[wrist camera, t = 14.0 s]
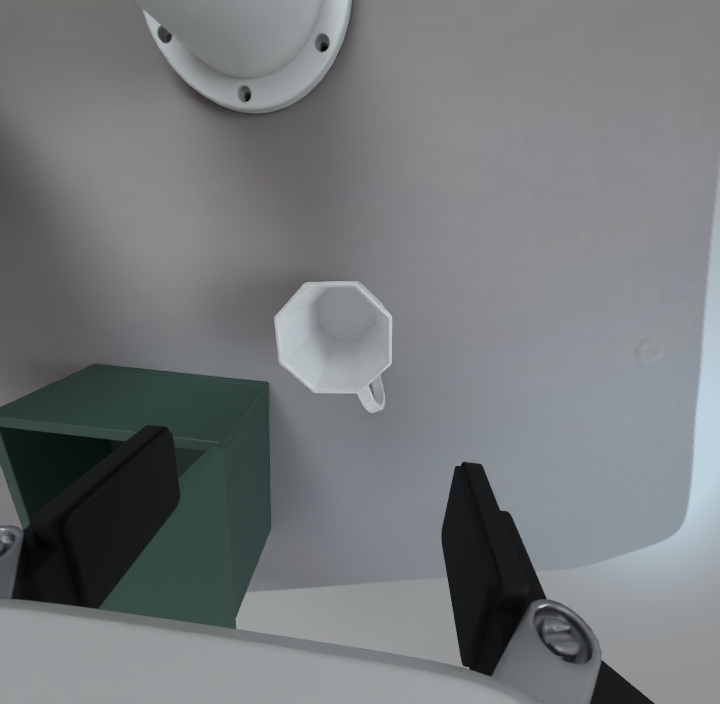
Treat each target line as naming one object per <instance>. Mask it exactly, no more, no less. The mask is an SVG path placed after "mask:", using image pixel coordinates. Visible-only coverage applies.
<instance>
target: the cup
mask: <svg viewBox="0 0 720 704" xmlns="http://www.w3.org/2000/svg"><path fill="white" fill-rule="evenodd" d="M274 324H275V333H276V342H277V350H278V359H279V364H281V365H282V366H283V367H284V368H285V369H286V370H288V371H289V372H290V373H291V374H292V375H293V376H295V377H296V378H297V379H298V380H299V381H300V382H301V383H303V384H304V385H305V386H306V387H307V388H308V389H310V390H311V391H312V392H313V393H342V394H357V395H358V397H359V399H360V401H361V403H362V405H363V406H364V408H365V409H366V410H367V411H368V412H370V413H374V412H377V411H380V410H383V408H384V406H385V393H384V388H383V384H382V380H381V376H380V374H381V373H382V372H383V371H384V370H386V369H387V368H388V367H389V366H390V365H391V364H392V316H391V315H390V313H389V312H388V311H387V310H386V309H385V307H384V306H383V304H382V303H381V302H380V301H379V300H378V299H377V298H376V297H375V296H374V295H373V294H372V293H371V292H370V291H369V290H368V289H366V288H365V287H364V286H363V285H362V284H361V283H360V282H359V281H324V282H305V283H304V284H303V285H302V286H301V287H300V289H299V290H298V291H297V292H296V293H295V294H294V295H293V296H292V298H291V299H290V300H289V301H288V302H287V303H286V304H285V306H284V307H283V308H282V309H281V310H280V311H279V312H278V313H277V315H276V316H275V317H274ZM370 383H372V387H373V392H374V398H373V395H372V393H371V390H370V388H369V386H368V385H369V384H370Z"/></svg>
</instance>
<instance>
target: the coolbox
mask: <svg viewBox="0 0 720 704" xmlns="http://www.w3.org/2000/svg"><path fill="white" fill-rule="evenodd" d="M146 425H157V426H165V427H167V428H168V429H169V432H172V434H173V439H174V447H175V455H176V463H177V472H178V478H179V477H180V476H181V475H182V474H183V473H184V472H186V471H187V470H188V469H189V468H190V467H191V466H192V465H193V464H194V463H195V462H196V461H197V460H198V459H199V458H200V457H201V456H202V455H203V454H204V453H205V452H206V451H207V450H208V449H209V448H210V447H212V446H213V447H218V448H222V449H223V455H224V468H225V482H226V496H227V509H228V523H229V537H230V550H231V564H232V578H233V591H234V605H235V618H236V616H237V613H238V611H239V608H240V606H241V603H242V601H243V598H244V596H245V593H246V591H247V588H248V586H249V583H250V580H251V578H252V575H253V573H254V570H255V568H256V565H257V563H258V560H259V558H260V555H261V553H262V550H263V548H264V545H265V543H266V540H267V537H268V535H269V533H270V530H271V510H270V453H269V395H268V382H260V381H251V380H241V379H232V378H222V377H213V376H204V375H194V374H185V373H175V372H166V371H157V370H147V369H138V368H128V367H119V366H109V365H100V364H93V365H91V366H89V367H87V368H85V369H82V370H80V371H78V372H76V373H74V374H71V375H69V376H67V377H65V378H63V379H61V380H58V381H56V382H54V383H52V384H50V385H48V386H45V387H43V388H41V389H39V390H37V391H35V392H32V393H30V394H28V395H26V396H24V397H21V398H19V399H17V400H15V401H13V402H11V403H8V404H6V405H4V406H2V407H0V465H1V467H2V470H3V473H4V476H5V479H6V482H7V485H8V488H9V491H10V493H11V496H12V499H13V502H14V505H15V508H16V511H17V514H18V516H19V519H20V522H21V525H22V528H23V530H24V529H25V528H26V527H28V526H29V525H30V523H29V520H28V519H29V518H30V517H31V516H33V515H34V514H35V513H36V512H38V511H39V510H40V509H41V508H43V507H44V506H45V505H46V504H48V503H49V502H50V501H51V500H53V499H54V498H55V497H56V496H58V495H59V494H60V493H62V492H63V491H64V490H65V489H67V488H68V487H69V486H70V485H72V484H73V483H74V482H75V481H77V480H78V479H79V478H80V477H82V476H83V475H84V474H85V473H87V472H88V471H89V470H90V469H92V468H93V467H94V466H95V465H97V464H98V463H99V462H100V461H102V460H103V459H104V458H106V457H107V456H108V455H109V454H111V453H112V452H113V451H114V450H116V449H117V448H118V447H119V446H121V445H122V444H123V443H124V442H126V441H127V440H128V439H129V438H131V437H132V436H133V435H134V434H136V433H137V432H138V431H139V430H141V429H142V428H143V427H145V426H146Z"/></svg>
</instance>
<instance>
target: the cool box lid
mask: <svg viewBox="0 0 720 704" xmlns="http://www.w3.org/2000/svg"><path fill="white" fill-rule="evenodd" d="M178 480H179V488H180V501H179V504H178V506H177V508H176V509H175V510H174V512H173V513H172V514H171V516H170V517H169V518H168V519H167V521H166V522H165V523H164V525H163V526H162V527H161V528H160V530H159V531H158V532H157V534H156V535H155V536H154V538H153V539H152V540H151V541H150V543H149V544H148V545H147V547H146V548H145V549H144V550H143V552H142V553H141V554H140V556H139V557H138V558H137V560H136V561H135V562H134V563H133V565H132V566H131V567H130V569H129V570H128V571H127V572H126V574H125V575H124V576H123V578H122V579H121V580H120V582H119V583H118V584H117V585H116V587H115V588H114V589H113V591H112V592H111V593H110V594H109V596H108V597H107V598H106V600H105V601H104V602H103V604H102V605H101V606H100V607H99V608H98V609H101V610H108V611H115V612H122V613H129V614H136V615H143V616H150V617H157V618H164V619H171V620H177V621H184V622H191V623H198V624H205V625H211V626H218V627H225V628H231V629H236V621H235V605H234V591H233V578H232V564H231V550H230V537H229V523H228V509H227V496H226V482H225V468H224V455H223V449H222V448H218V447H213V446H212V447H210V448H209V449H208V450H207V451H206V452H205V453H204V454H203V455H202V456H201V457H200V458H199V459H198V460H197V461H196V462H195V463H194V464H193V465H192V466H191V467H190V468H189V469H188V470H187V471H186V472H184V473H183V474H182V475H181V476H180V477H179V478H178Z"/></svg>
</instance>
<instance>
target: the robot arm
mask: <svg viewBox="0 0 720 704" xmlns="http://www.w3.org/2000/svg"><path fill="white" fill-rule="evenodd" d="M133 1H134V2H136V3H137V4H138V5H139V6H140V7H141V8H142V10H143V13H144V16H145V19H146V22H147V25H148V27H149V29H150V31H151V33H152V35H153V37H154V40H155V42H156V44H157V46H158V48H159V49H160V51H161V52H162V54H163V55H164V56H165V58H166V59H167V61H168V62H169V64H170V65H171V67H172V68H173V69H174V70H175V71H176V72H177V73H178V74H179V75H180V76H181V77H182V78H183V80H184V81H185V82H186V83H187V84H188V85H190V86H191V87H192V88H194V89H195V90H196V91H198V92H199V93H200V94H202V95H203V96H205V97H206V98H208V99H210V100H211V101H213V102H215V103H216V104H218V105H220V106H223V107H225V108H228V109H231V110H234V111H237V112H244V113H253V114H257V113H267V112H274V111H277V110H279V109H282V108H285V107H288V106H290V105H292V104H294V103H295V102H297V101H298V100H300V99H302V98H303V97H305V96H306V95H307V94H308V93H309V92H310V91H311V90H312V89H313V88H314V87H316V86H317V85H318V84H319V83H320V82H321V80H322V79H323V77H324V76H325V75H326V73H327V72H328V70H329V69H330V67H331V66H332V65H333V63H334V61H335V58H336V56H337V54H338V52H339V50H340V48H341V46H342V43H343V40H344V37H345V33H346V30H347V26H348V23H349V19H350V12H351V4H352V0H133ZM323 46H328V49H327V50H326V51H325V52H321V48H322V47H323ZM248 95H251V99H250V100H249V101H248V102H247V100H246V99H247V96H248ZM179 501H180V488H179V480H178V472H177V463H176V455H175V447H174V439H173V434H172V432H169V429H168V428H167V427H165V426H157V425H146V426H145V427H143V428H142V429H141V430H139V431H138V432H137V433H136V434H134V435H133V436H132V437H131V438H129V439H128V440H127V441H126V442H124V443H123V444H122V445H121V446H119V447H118V448H117V449H116V450H114V451H113V452H112V453H111V454H109V455H108V456H107V457H106V458H104V459H103V460H102V461H100V462H99V463H98V464H97V465H95V466H94V467H93V468H92V469H90V470H89V471H88V472H87V473H85V474H84V475H83V476H82V477H80V478H79V479H78V480H77V481H75V482H74V483H73V484H72V485H70V486H69V487H68V488H67V489H65V490H64V491H63V492H62V493H60V494H59V495H58V496H56V497H55V498H54V499H53V500H51V501H50V502H49V503H48V504H46V505H45V506H44V507H43V508H41V509H40V510H39V511H38V512H36V513H35V514H34V515H33V516H31V517H30V518H29V519H28V520H29V523H30V525H29V526H28V527H26V528H25V529H24V530H21V529H20V528H19V527H16V526H12V525H10V526H0V704H654V703H653V702H652V701H651V700H649V699H648V698H647V697H646V696H645V695H643V694H642V693H641V692H640V691H639V690H637V689H636V688H635V687H634V686H632V685H631V684H630V683H629V682H628V681H626V680H625V679H624V678H623V677H621V676H620V675H619V674H618V673H617V672H615V671H614V670H613V669H612V668H611V667H609V666H608V665H607V664H606V663H605V662H603V661H602V660H601V654H602V653H601V649H600V646H599V642H598V640H597V638H596V636H595V635H594V633H593V631H592V629H591V628H590V627H589V626H588V625H587V624H586V622H585V621H584V620H583V619H582V618H581V617H580V616H579V615H578V614H576V613H575V612H574V611H573V610H571V609H569V608H568V607H566V606H564V605H563V604H561V603H559V602H556V601H552V600H547V599H546V596H545V594H544V592H543V589H542V587H541V584H540V582H539V580H538V577H537V575H536V573H535V570H534V568H533V566H532V563H531V561H530V559H529V556H528V554H527V551H526V549H525V547H524V544H523V542H522V540H521V537H520V535H519V533H518V530H517V528H516V526H515V523H514V521H513V518H512V517H511V515H510V513H508V512H507V511H500V509H499V507H498V504H497V502H496V499H495V497H494V494H493V491H492V489H491V486H490V484H489V481H488V479H487V476H486V474H485V471H484V468H483V466H482V465H481V464H476V463H468V462H463V463H462V464H461V466H456V467H455V470H454V475H453V480H452V484H451V489H450V494H449V499H448V503H447V508H446V513H445V518H444V522H443V527H442V546H443V553H444V559H445V565H446V571H447V577H448V583H449V588H450V595H451V601H452V607H453V613H454V619H455V625H456V631H457V637H458V643H459V649H460V656H461V661H462V664H463V666H465V667H469V668H470V669H466V668H462V667H458V666H453V665H449V664H445V663H440V662H436V661H431V660H426V659H420V658H414V657H408V656H403V655H397V654H391V653H386V652H380V651H374V650H368V649H361V648H354V647H349V646H342V645H336V644H329V643H323V642H317V641H310V640H303V639H297V638H291V637H285V636H278V635H271V634H265V633H257V632H251V631H245V630H238V629H231V628H225V627H218V626H211V625H205V624H198V623H191V622H184V621H177V620H171V619H164V618H157V617H150V616H143V615H136V614H129V613H122V612H115V611H108V610H101V609H98V608H99V607H100V606H101V605H102V604H103V602H104V601H105V600H106V598H107V597H108V596H109V594H110V593H111V592H112V591H113V589H114V588H115V587H116V585H117V584H118V583H119V582H120V580H121V579H122V578H123V576H124V575H125V574H126V572H127V571H128V570H129V569H130V567H131V566H132V565H133V563H134V562H135V561H136V560H137V558H138V557H139V556H140V554H141V553H142V552H143V550H144V549H145V548H146V547H147V545H148V544H149V543H150V541H151V540H152V539H153V538H154V536H155V535H156V534H157V532H158V531H159V530H160V528H161V527H162V526H163V525H164V523H165V522H166V521H167V519H168V518H169V517H170V516H171V514H172V513H173V512H174V510H175V509H176V508H177V506H178V504H179Z"/></svg>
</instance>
